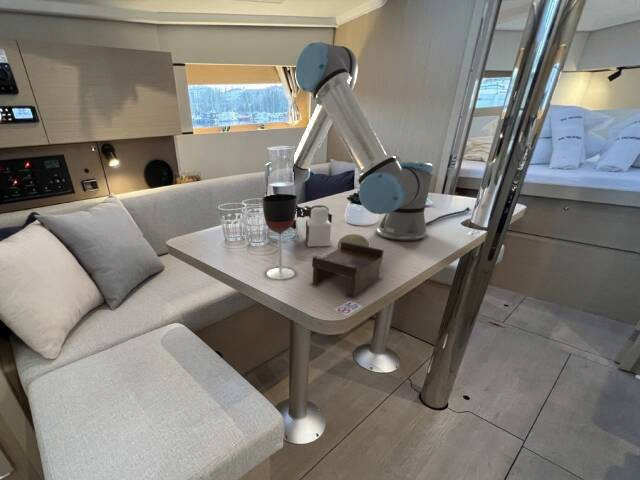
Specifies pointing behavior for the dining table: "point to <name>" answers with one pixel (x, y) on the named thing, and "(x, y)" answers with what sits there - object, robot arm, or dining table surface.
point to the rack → (349, 266)
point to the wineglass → (279, 225)
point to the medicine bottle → (318, 227)
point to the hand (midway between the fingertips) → (313, 221)
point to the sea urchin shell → (354, 240)
